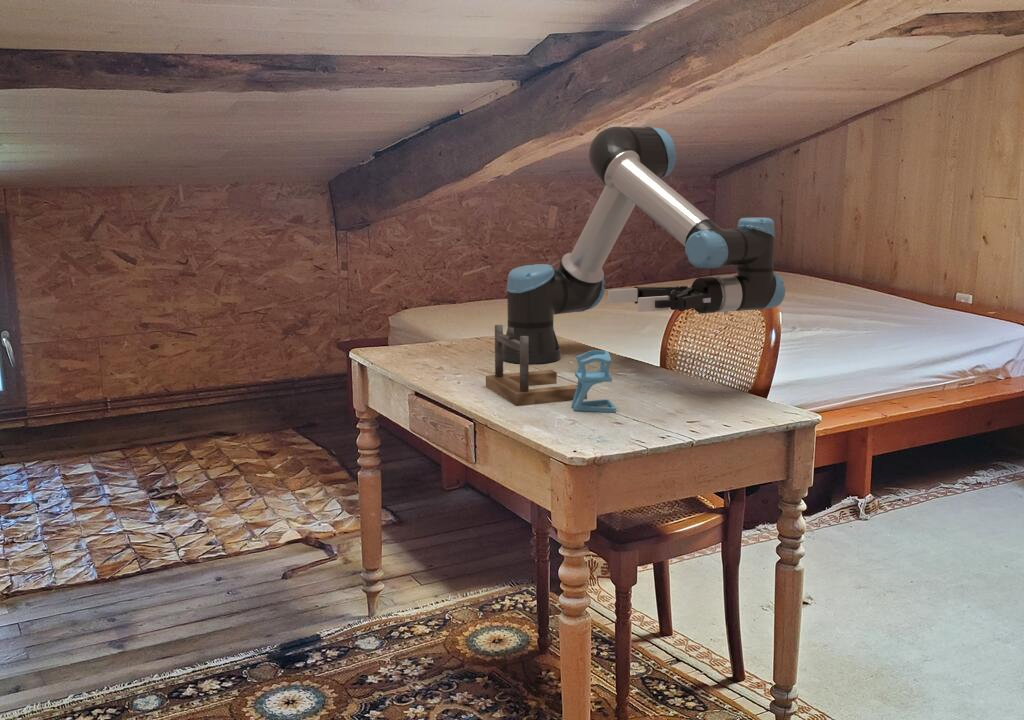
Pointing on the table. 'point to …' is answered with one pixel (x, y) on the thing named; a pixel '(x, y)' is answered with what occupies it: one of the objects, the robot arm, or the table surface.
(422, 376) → the table surface
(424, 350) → the table surface
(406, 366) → the table surface
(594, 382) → the chair
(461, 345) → the table surface
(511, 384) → the wooden post frame
